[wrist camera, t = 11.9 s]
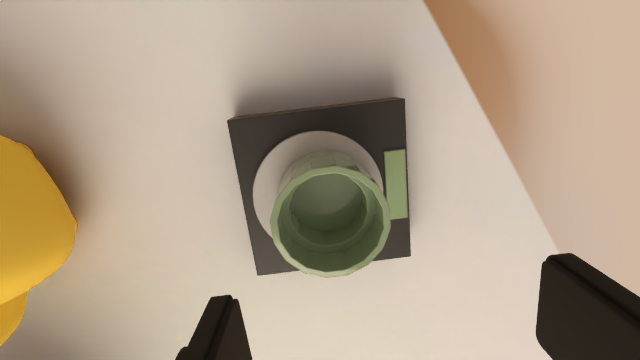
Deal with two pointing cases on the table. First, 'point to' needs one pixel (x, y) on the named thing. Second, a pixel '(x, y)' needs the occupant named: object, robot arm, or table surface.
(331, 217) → the green cup
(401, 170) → the scale
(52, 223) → the teapot
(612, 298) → the robot arm
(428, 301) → the table surface
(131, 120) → the table surface
